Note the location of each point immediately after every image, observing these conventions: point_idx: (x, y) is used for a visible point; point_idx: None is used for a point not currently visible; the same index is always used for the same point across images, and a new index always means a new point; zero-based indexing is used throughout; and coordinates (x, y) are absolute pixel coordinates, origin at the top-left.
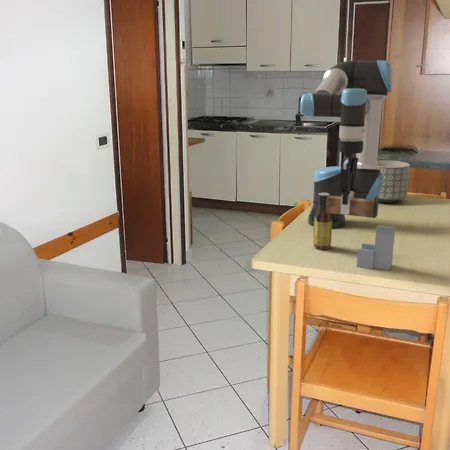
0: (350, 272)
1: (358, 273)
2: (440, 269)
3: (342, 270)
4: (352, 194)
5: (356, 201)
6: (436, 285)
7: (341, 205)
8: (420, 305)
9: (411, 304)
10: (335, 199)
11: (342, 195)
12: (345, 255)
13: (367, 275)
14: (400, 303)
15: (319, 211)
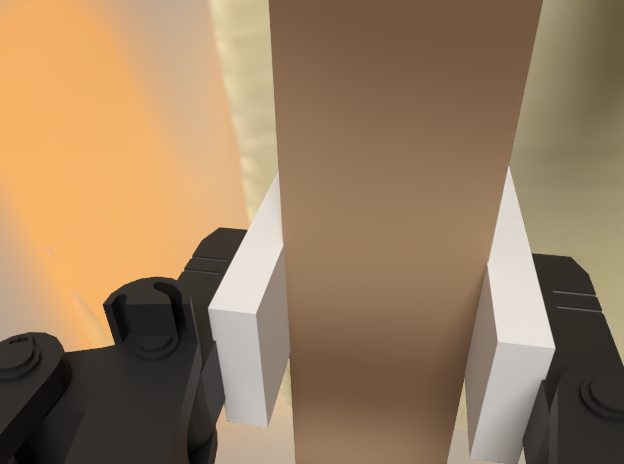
0: (253, 106)
1: (260, 144)
2: (459, 417)
3: (259, 60)
4: (467, 412)
5: (297, 402)
6: (285, 393)
7: (271, 195)
8: (100, 346)
9: (89, 326)
10: (279, 127)
11: (218, 302)
12: (541, 17)
13: (256, 185)
14: (74, 301)
15: None
